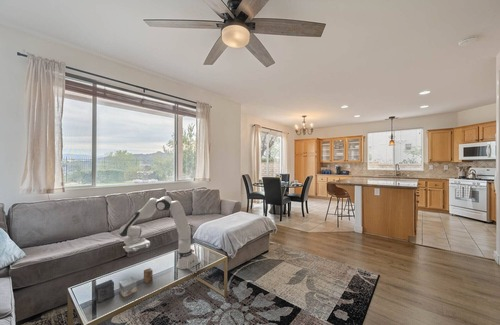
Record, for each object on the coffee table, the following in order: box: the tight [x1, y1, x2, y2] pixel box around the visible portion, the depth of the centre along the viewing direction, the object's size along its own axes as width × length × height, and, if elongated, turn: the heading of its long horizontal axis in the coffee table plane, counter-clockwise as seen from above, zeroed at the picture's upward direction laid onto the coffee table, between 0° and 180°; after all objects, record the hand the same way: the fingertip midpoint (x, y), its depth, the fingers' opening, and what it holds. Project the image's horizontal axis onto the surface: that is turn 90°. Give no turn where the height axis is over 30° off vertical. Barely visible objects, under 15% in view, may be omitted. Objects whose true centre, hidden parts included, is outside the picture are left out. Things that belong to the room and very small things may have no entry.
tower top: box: [118, 276, 138, 292], centre depth 158 cm, size 9×9×4 cm
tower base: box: [118, 286, 138, 298], centre depth 158 cm, size 9×9×4 cm
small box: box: [94, 279, 115, 304], centre depth 150 cm, size 11×6×10 cm, turn 141°
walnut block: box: [143, 267, 153, 284], centre depth 172 cm, size 5×5×9 cm
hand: (142, 248), depth 178 cm, fingers open, 8 cm apart
